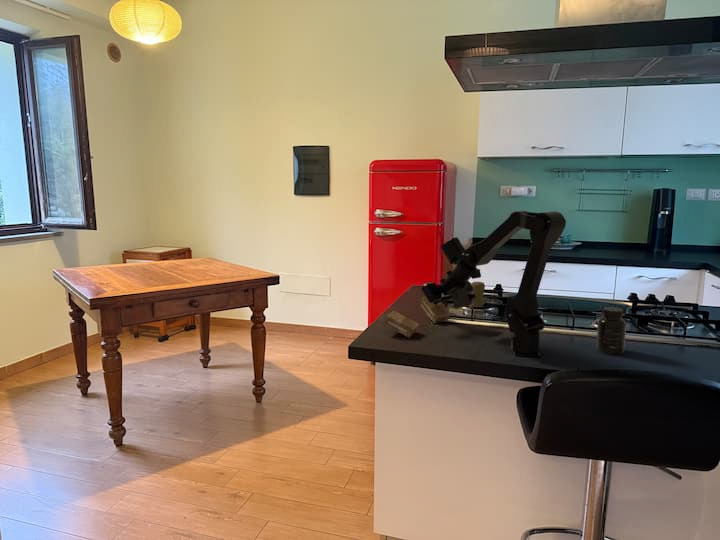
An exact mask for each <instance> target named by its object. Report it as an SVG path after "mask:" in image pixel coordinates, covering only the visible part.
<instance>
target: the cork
mask: <svg viewBox="0 0 720 540" xmlns="http://www.w3.org/2000/svg"><path fill="white" fill-rule="evenodd" d="M470 284H471V285H472V287H473V291H472V293H475V295H476V299H475V300H474V301H473V303H472V304H471V305H469V306H468V308H469V307H470V308H471V307H472V306H473V305H474V306H476V307H479V306H480V307H481V306H483V305H484V304H485V297H484V292H485V288H486V285H485V283H484V282H482V281H473V282H470Z"/></svg>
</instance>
